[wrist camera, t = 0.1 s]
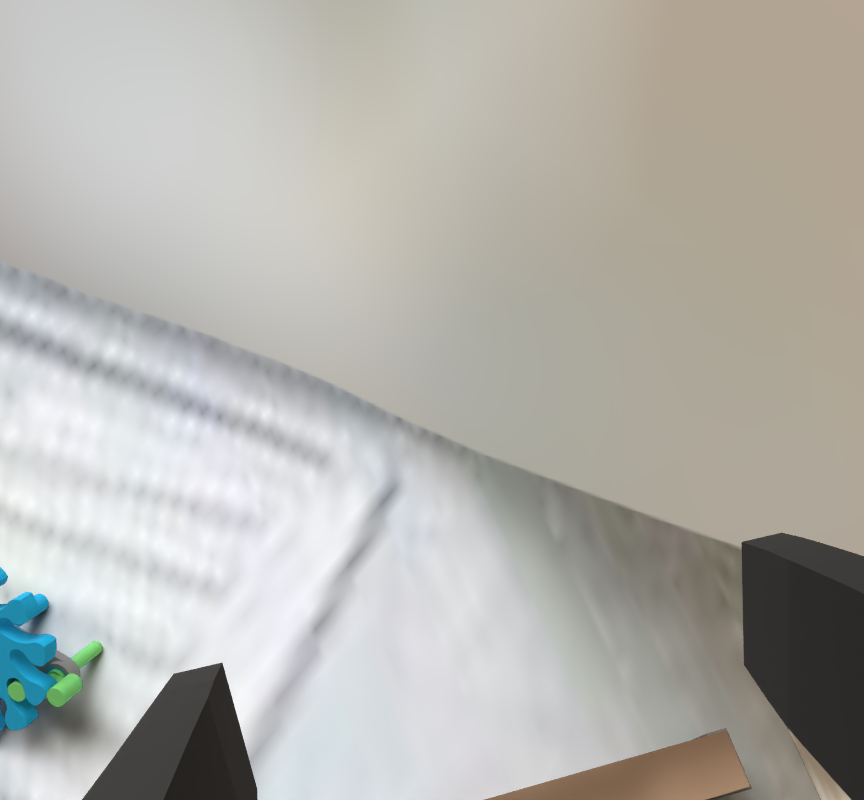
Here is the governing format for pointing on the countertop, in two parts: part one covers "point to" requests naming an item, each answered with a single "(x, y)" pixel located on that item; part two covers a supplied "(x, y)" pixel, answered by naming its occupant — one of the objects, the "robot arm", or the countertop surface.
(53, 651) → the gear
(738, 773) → the bed rail
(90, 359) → the countertop surface
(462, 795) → the countertop surface
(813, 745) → the robot arm
